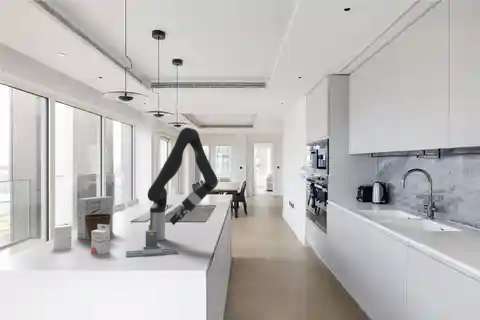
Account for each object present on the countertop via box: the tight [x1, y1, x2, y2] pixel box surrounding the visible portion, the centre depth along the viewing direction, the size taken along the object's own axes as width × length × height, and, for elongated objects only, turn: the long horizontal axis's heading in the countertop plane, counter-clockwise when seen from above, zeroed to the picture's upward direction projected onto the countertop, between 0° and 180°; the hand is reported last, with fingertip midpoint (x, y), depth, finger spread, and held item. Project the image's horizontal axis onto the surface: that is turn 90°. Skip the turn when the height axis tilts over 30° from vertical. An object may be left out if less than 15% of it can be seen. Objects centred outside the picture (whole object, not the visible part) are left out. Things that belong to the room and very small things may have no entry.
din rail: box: [125, 245, 178, 258], centre depth 186 cm, size 26×9×3 cm, turn 107°
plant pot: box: [84, 214, 111, 241], centre depth 213 cm, size 15×15×16 cm
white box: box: [53, 224, 73, 250], centre depth 198 cm, size 9×9×12 cm
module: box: [145, 229, 158, 247], centre depth 195 cm, size 6×5×10 cm
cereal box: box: [76, 195, 114, 240], centre depth 231 cm, size 22×8×25 cm, turn 150°
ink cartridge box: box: [90, 224, 111, 255], centre depth 187 cm, size 9×5×15 cm, turn 71°
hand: (171, 222), depth 198 cm, fingers open, 8 cm apart
